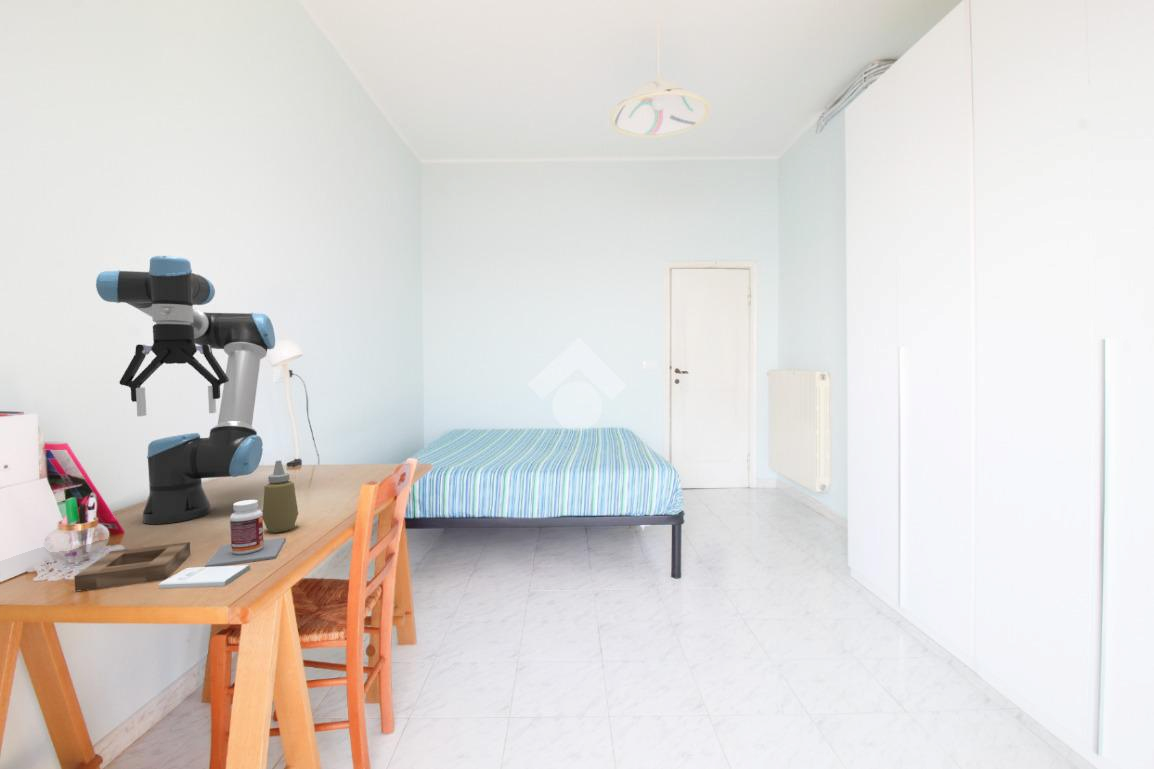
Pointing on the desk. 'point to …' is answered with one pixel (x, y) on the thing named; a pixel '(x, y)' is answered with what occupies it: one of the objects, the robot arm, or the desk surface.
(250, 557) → the grey mat
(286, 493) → the squeeze bottle
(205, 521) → the desk surface
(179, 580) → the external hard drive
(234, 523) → the pill bottle
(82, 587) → the walnut frame
